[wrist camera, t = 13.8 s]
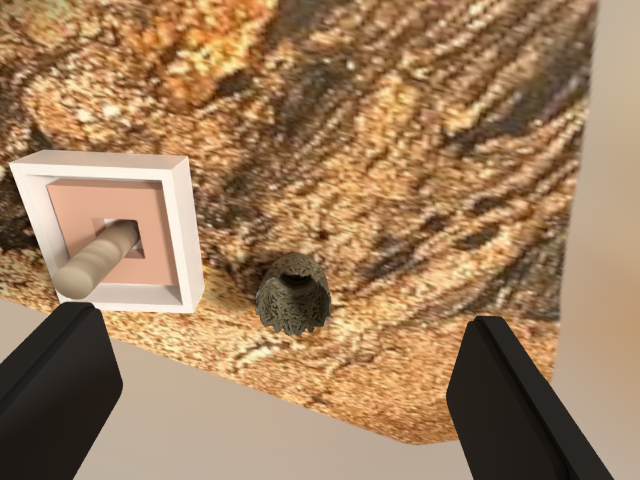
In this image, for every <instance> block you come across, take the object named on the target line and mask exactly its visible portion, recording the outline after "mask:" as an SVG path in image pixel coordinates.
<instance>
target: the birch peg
mask: <svg viewBox="0 0 640 480" xmlns="http://www.w3.org/2000/svg"><path fill="white" fill-rule="evenodd" d="M140 239H141V236H140V231H139V227H138V222H137V221H135V220H127V219H117V220H116V221H115V222H114V223H113V224H112V225H110V226H109V227H108V228H107V229H106V230H105V231H103V232H102V233H101V234H100V235H99V236H97V237H96V238H95V239H94V240H93V241H92V242H90V243H89V244H88V245H87V246H86V247H85V248H83V249H82V250H81V251H80V252H79V253H78V254H76V255H75V256H74V257H73V258H72V259H71V260H69V261H68V262H67V263H66V264H65V265H64V266H62V267H61V268H60V269H59V270H58V271H57V272H55V273H54V275H53V276H52V284H53V286H54V288H55V289H56V290H57V291H58V292H59V293H60V294H61V295H63V296H65V297H67V298H70V299H74V300H80V299H84V298H86V297H87V296H88V295H89V294H90V293H91V292H92V291H93V290H94V289H95V288H96V287H97V286H98V284H99V283H100V282H101V281H102V280H103V279H104V278H105V277H106V276H107V275H108V274H109V273H110V272H111V270H112V269H113V268H114V267H115V266H116V265H117V264H118V263H119V262H120V261H121V260H122V259H123V258H124V256H125V255H126V254H127V253H128V252H129V251H130V250H131V249H132V248H133V247H134V246H135V245H136V244H137V243H138V241H139V240H140Z"/></svg>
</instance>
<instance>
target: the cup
mask: <svg viewBox="0 0 640 480" xmlns="http://www.w3.org/2000/svg"><path fill="white" fill-rule="evenodd" d="M255 298H256V301H257V306H256V309H255V311H256V315H260V320H261V322H262V324H263V325H264V326H266V327H267V326H273V327H274V330H275V332H276V333H279V332H280V331H281V330H282V329H281V328H282V327H283V329H284V332H285V334H286V335H288V336H291V335H293V334H294V333H295V334H296V335H297V336H299V335H301V334H302V332H304V331H305V329H306V328H307V330H308V331H309V332H310V333H312V332H313V330H314V327H323V326H324V325H325V323H326V321H327V319H328V317H330V316H331V306H330V305H331V296H330V292H329V287H328V283H327V279H326V276H325V274H324V271H323V269H322V268H321V266H320V265H319V264H318V263H317V262H316V261H315V260H314V259H312V258H311V257H309V256H307V255H305V254H303V253H299V252H295V253H291V254H288V255H285V256H283V257H281V258H279V259H278V260H276V261H275V262H274V263H273V264H272V265H271V266H270V268H269V269H268V271H267V273H266V275H265V277H264V279H263V281H262V283H261V285H260V287H259V290H258V292H257V294H256V296H255Z"/></svg>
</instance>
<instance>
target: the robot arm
mask: <svg viewBox="0 0 640 480" xmlns="http://www.w3.org/2000/svg"><path fill="white" fill-rule="evenodd" d="M122 389H123V381H122V378H121V375H120V371H119V368H118V365H117V362H116V358H115V355H114V352H113V349H112V345H111V342H110V339H109V336H108V332H107V329H106V326H105V323H104V319H103V316H102V313H101V311H100V310H99V309H98V308H95V306H94V305H93V304H92V303H90V302H70V301H66V302H63V303H62V304H60V305H59V306H58V307H57V308H56V309H55V310H54V311H53V312H52V313H51V314H50V315H49V316H48V317H47V318H46V319H45V320H44V321H43V322H42V323H41V324H40V325H39V326H38V327H37V328H36V329H35V330H34V331H33V332H32V333H31V334H30V335H29V336H28V337H27V338H26V339H25V340H24V341H23V342H22V343H21V344H20V345H19V346H18V347H17V348H16V349H15V350H14V351H13V352H12V353H11V354H10V355H9V356H8V357H7V358H6V359H5V360H4V361H3V362H2V363H1V364H0V480H73V478H74V476H75V475H76V473H77V471H78V469H79V468H80V466H81V464H82V462H83V461H84V459H85V457H86V455H87V454H88V452H89V450H90V448H91V446H92V445H93V443H94V441H95V440H96V438H97V436H98V434H99V433H100V431H101V429H102V427H103V426H104V424H105V422H106V420H107V419H108V417H109V415H110V413H111V411H112V410H113V408H114V406H115V405H116V403H117V401H118V399H119V397H120V395H121V393H122ZM446 401H447V406H448V409H449V412H450V415H451V417H452V420H453V423H454V426H455V429H456V431H457V434H458V437H459V440H460V443H461V445H462V448H463V451H464V454H465V457H466V459H467V462H468V465H469V468H470V471H471V473H472V476H473V479H474V480H614V479H613V477H612V476H611V474H610V473H609V471H608V470H607V468H606V467H605V466H604V464H603V462H602V461H601V459H600V458H599V457H598V455H597V454H596V452H595V451H594V449H593V448H592V446H591V445H590V443H589V442H588V441H587V439H586V437H585V436H584V434H583V433H582V432H581V430H580V429H579V427H578V426H577V424H576V423H575V421H574V420H573V418H572V417H571V415H570V414H569V413H568V411H567V409H566V408H565V407H564V405H563V404H562V402H561V401H560V399H559V398H558V396H557V395H556V393H555V392H554V390H553V389H552V387H551V386H550V384H549V383H548V382H547V380H546V379H545V378H544V377H543V375H542V374H541V373H540V371H539V370H538V369H537V367H536V366H535V364H534V363H533V361H532V360H531V358H530V357H529V355H528V354H527V352H526V351H525V349H524V348H523V346H522V345H521V343H520V342H519V340H518V339H517V337H516V336H515V335H514V333H513V332H512V330H511V329H510V327H509V326H508V324H507V323H506V321H505V320H504V319H503V318H502V317H500V316H476V317H475V319H474V321H469V322H468V324H467V327H466V330H465V333H464V336H463V340H462V343H461V346H460V349H459V353H458V356H457V359H456V362H455V366H454V369H453V372H452V375H451V379H450V382H449V385H448V389H447V392H446Z"/></svg>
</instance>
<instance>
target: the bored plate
mask: <svg viewBox="0 0 640 480" xmlns="http://www.w3.org/2000/svg"><path fill="white" fill-rule="evenodd" d="M47 187H48V191H49V194H50V197H51V200H52V203H53V206H54V209H55V212H56V215H57V218H58V221H59V224H60V227H61V230H62V233H63V236H64V239H65V242H66V245H67V248H68V251H69V254H70V257H71V259H72V258H73V257H74V256H75V255H76V254H78V253H79V252H80V251H81V250H82V249H83V248H85V247H86V246H87V245H88V244H89V243H90V242H92V241H93V240H94V239H95V238H96V237H97V236H99V235H100V234H101V233H102V232H103V231H105V230H106V225H105V221H104V219H127V220H137V222H138V227H139V231H140V236H141V241H142V245H143V249H131V250H130V251H129V252H128V253H127V254H126V255H125V256H124V258H123V259H122V260H121V261H120V262H119V263H118V264H117V265H116V266H115V267H114V268H113V269H112V270H111V272H110V273H109V274H108V275H107V276H106V277H105V278H104V279H103V280H102V281H101V282H100V283H119V284H147V285H175V286H180V285H179V279H178V273H177V267H176V262H175V256H174V250H173V244H172V238H171V232H170V226H169V220H168V214H167V209H166V203H165V197H164V191H163V185H162V182H138V181H114V180H90V179H66V178H60V179H58V180H56V181H54V182H52V183H50V184H48V185H47Z"/></svg>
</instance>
